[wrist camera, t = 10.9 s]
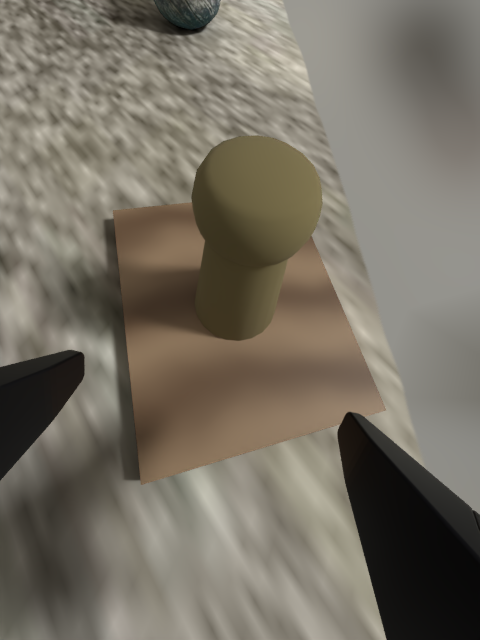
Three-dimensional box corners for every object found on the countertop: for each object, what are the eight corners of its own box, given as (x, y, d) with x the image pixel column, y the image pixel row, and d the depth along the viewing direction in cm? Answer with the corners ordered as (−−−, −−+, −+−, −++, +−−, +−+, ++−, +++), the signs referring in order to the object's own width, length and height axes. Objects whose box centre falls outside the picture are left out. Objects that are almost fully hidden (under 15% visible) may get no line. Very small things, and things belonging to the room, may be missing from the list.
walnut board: (375, 410, 18) (386, 410, 17) (146, 480, 15) (140, 485, 14) (288, 202, 25) (292, 192, 24) (117, 221, 22) (112, 210, 21)
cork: (195, 343, 17) (174, 232, 7) (193, 268, 20) (175, 103, 9) (280, 338, 18) (369, 233, 8) (269, 267, 20) (328, 114, 10)
